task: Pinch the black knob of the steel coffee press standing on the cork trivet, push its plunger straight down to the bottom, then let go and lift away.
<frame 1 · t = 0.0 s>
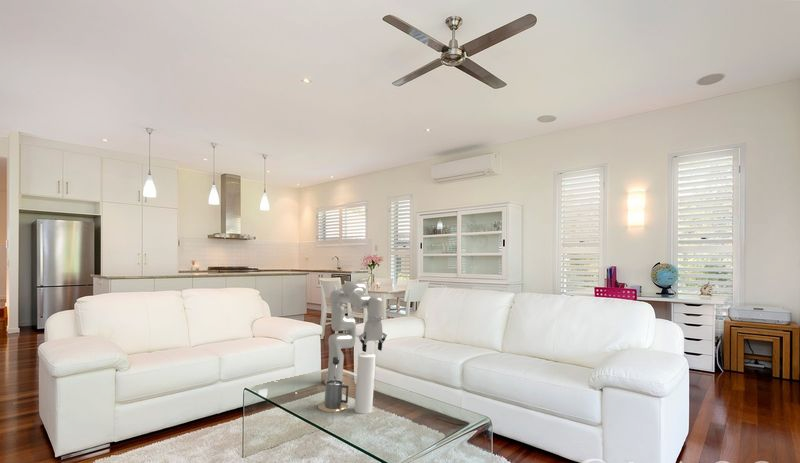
hand: (372, 350, 232), 31 cm above the table, tool pointing down, fingers open, 9 cm apart
press carafe: (332, 406, 229), on the table
plunger: (335, 371, 230), point 19 cm above the table, slide at 0.0 cm
cylinder container: (363, 410, 227), on the table
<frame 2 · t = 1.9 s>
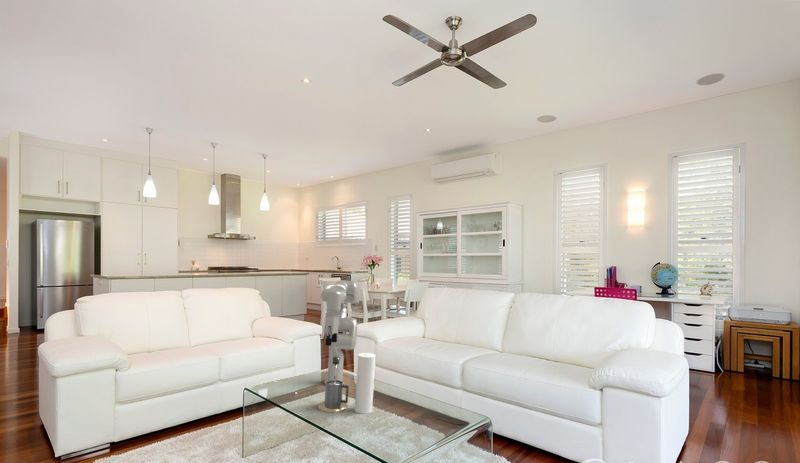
hand: (331, 343, 234), 33 cm above the table, tool pointing down, fingers open, 9 cm apart
nothing on the table moved.
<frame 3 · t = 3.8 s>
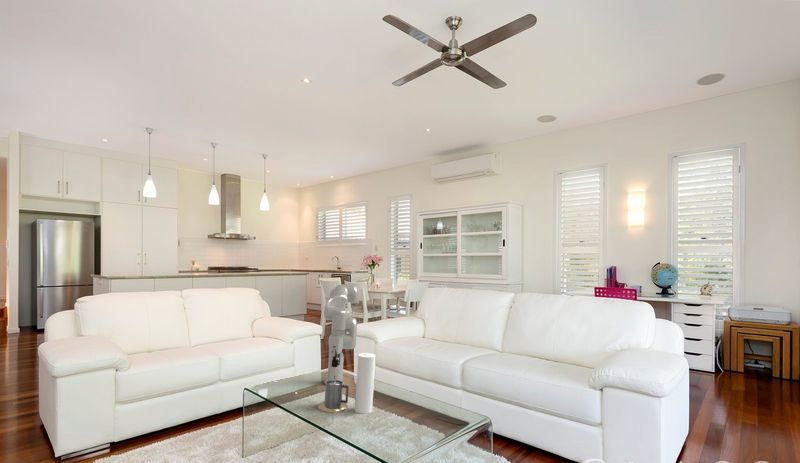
hand: (335, 365, 230), 22 cm above the table, tool pointing down, fingers closed on plunger, 3 cm apart
plunger: (335, 371, 230), point 19 cm above the table, slide at 0.0 cm, touching gripper
everything else where it was.
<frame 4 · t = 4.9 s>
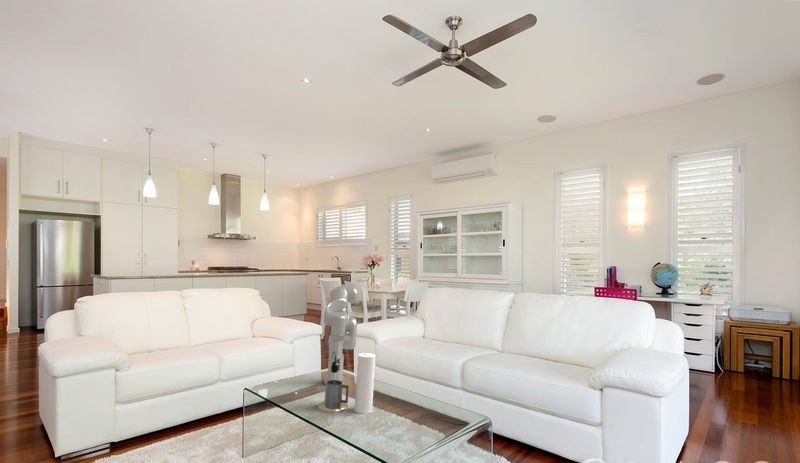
hand: (335, 371, 230), 19 cm above the table, tool pointing down, fingers closed on plunger, 3 cm apart
plunger: (334, 377, 230), point 16 cm above the table, slide at 3.0 cm, touching gripper
everything else where it was.
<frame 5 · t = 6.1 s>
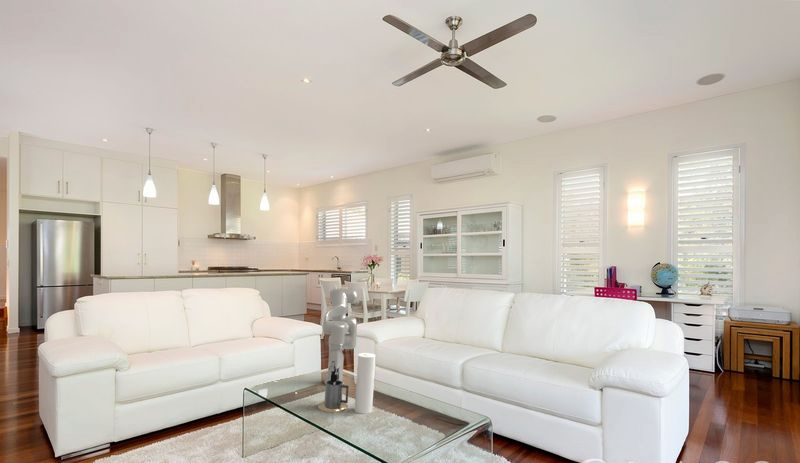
hand: (334, 380, 230), 14 cm above the table, tool pointing down, fingers closed on plunger, 3 cm apart
plunger: (334, 386, 230), point 11 cm above the table, slide at 8.0 cm, touching gripper
everything else where it was.
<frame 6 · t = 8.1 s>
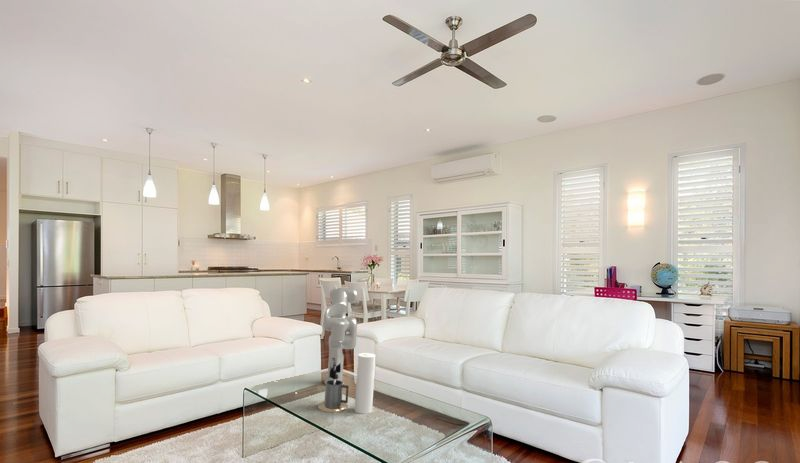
hand: (335, 374, 231), 17 cm above the table, tool pointing down, fingers open, 9 cm apart
plunger: (334, 386, 230), point 11 cm above the table, slide at 8.0 cm
everything else where it was.
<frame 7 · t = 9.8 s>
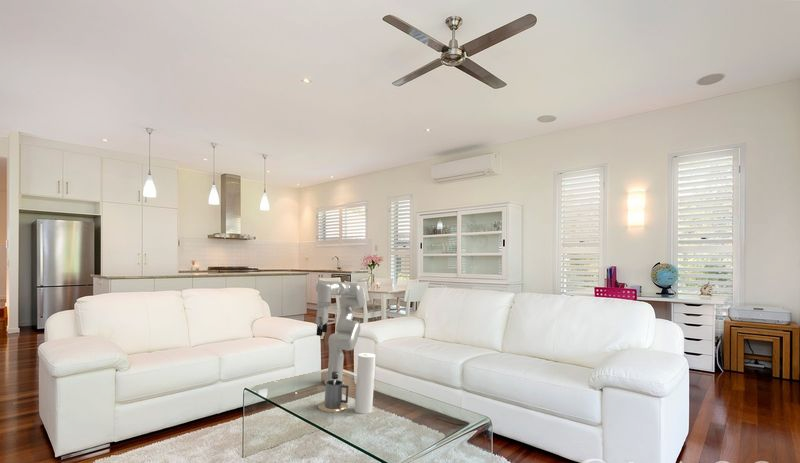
hand: (321, 333, 246), 36 cm above the table, tool pointing down, fingers open, 9 cm apart
nothing on the table moved.
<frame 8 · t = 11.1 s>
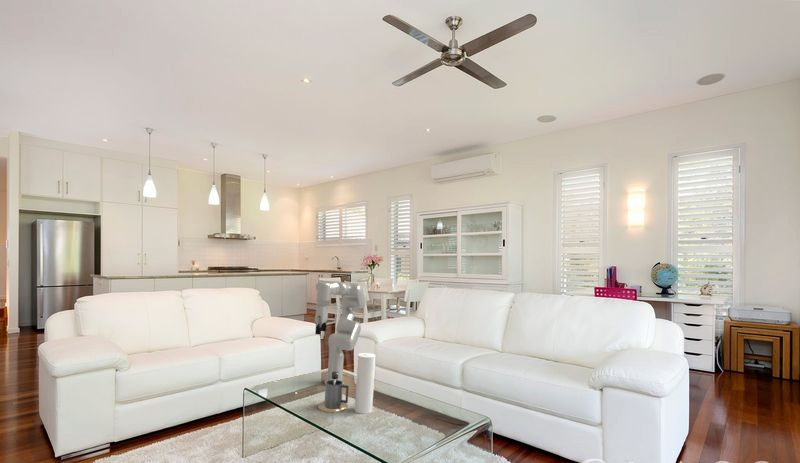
hand: (320, 332, 247), 36 cm above the table, tool pointing down, fingers open, 9 cm apart
nothing on the table moved.
at the end: plunger slide at 8.0 cm; the gripper is holding nothing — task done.
